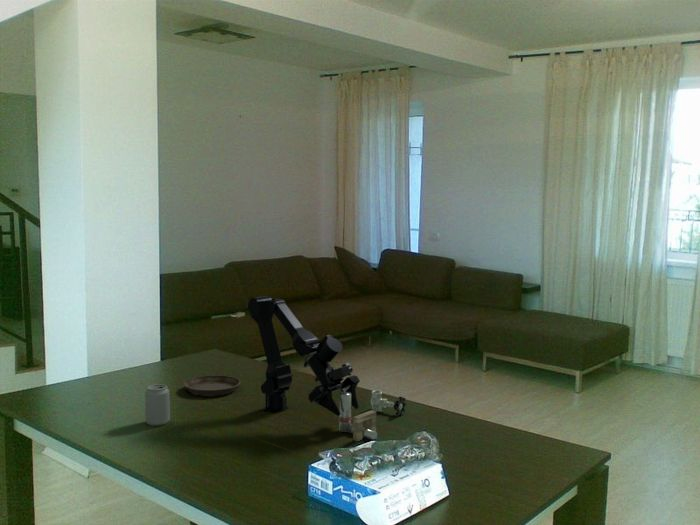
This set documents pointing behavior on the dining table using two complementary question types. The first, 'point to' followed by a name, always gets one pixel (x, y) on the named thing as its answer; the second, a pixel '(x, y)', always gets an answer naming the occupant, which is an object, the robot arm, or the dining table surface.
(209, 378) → the plant saucer
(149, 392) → the can
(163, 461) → the dining table surface
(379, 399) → the valve
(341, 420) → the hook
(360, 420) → the beige arch block
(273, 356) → the robot arm
